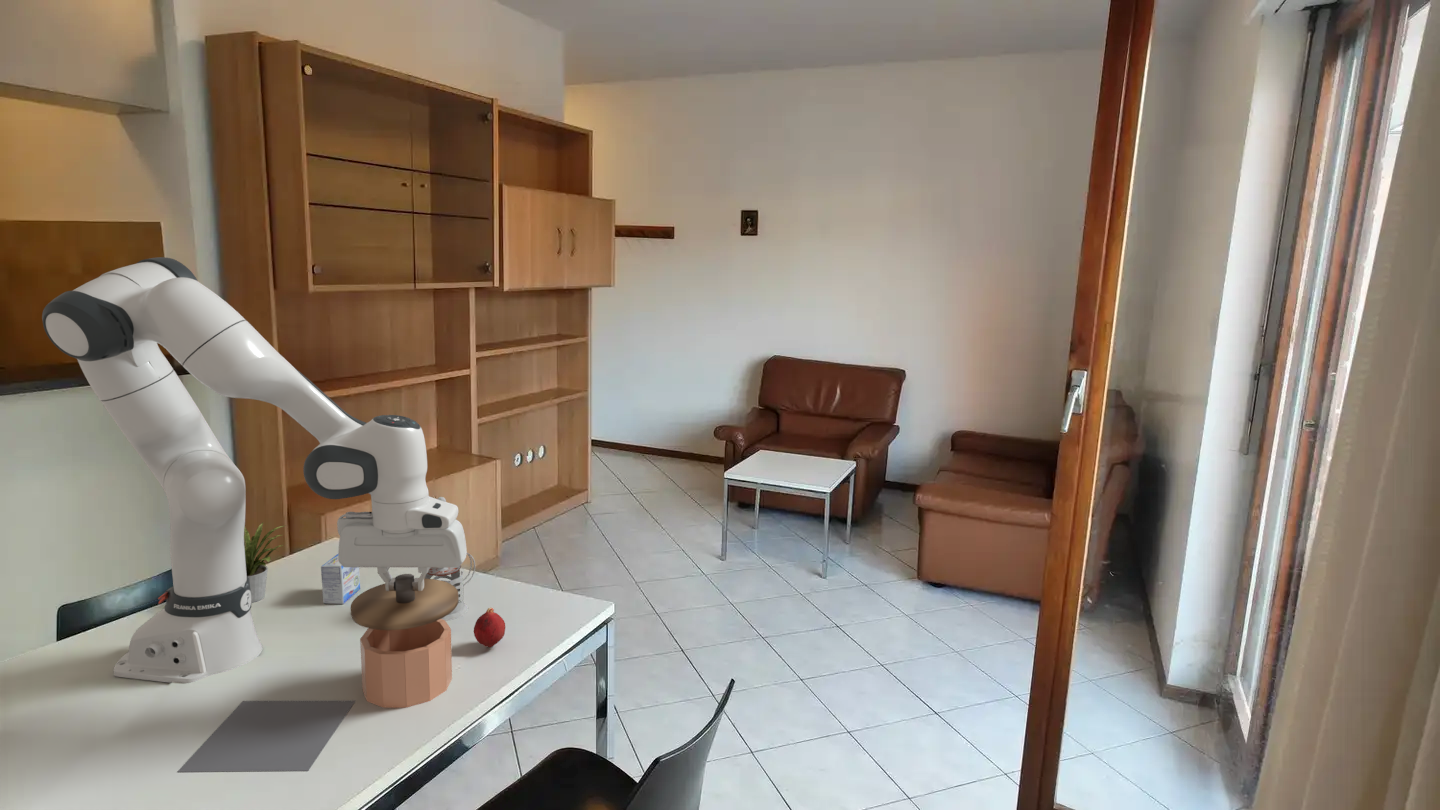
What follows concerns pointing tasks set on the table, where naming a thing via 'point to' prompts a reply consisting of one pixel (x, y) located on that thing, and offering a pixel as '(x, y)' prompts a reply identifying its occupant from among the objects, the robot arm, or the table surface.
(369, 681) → the flower pot
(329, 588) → the medicine box
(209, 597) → the robot arm
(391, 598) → the lid
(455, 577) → the french press
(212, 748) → the mat
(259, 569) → the house plant
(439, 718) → the table surface
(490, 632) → the red pomegranate
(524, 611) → the table surface
